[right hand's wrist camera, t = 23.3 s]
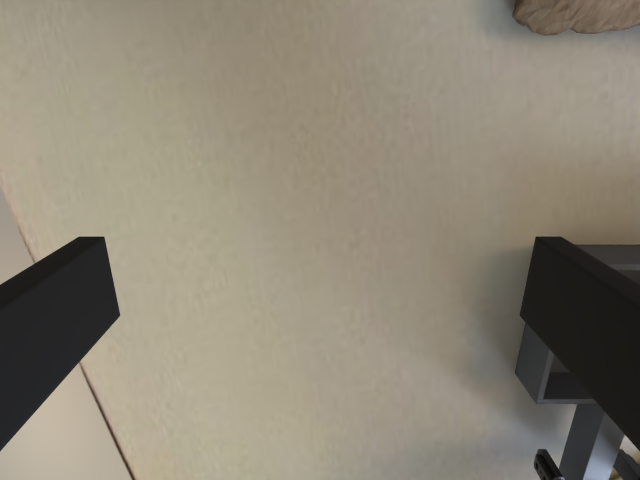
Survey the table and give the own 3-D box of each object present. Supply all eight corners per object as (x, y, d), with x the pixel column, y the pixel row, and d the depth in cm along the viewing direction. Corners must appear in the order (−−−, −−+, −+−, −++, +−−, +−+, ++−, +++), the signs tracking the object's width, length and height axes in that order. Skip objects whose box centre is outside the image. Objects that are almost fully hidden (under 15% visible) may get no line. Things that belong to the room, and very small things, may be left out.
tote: (542, 244, 39) (576, 268, 33) (699, 244, 39) (757, 268, 33) (497, 454, 48) (518, 498, 43) (623, 454, 48) (659, 498, 43)
